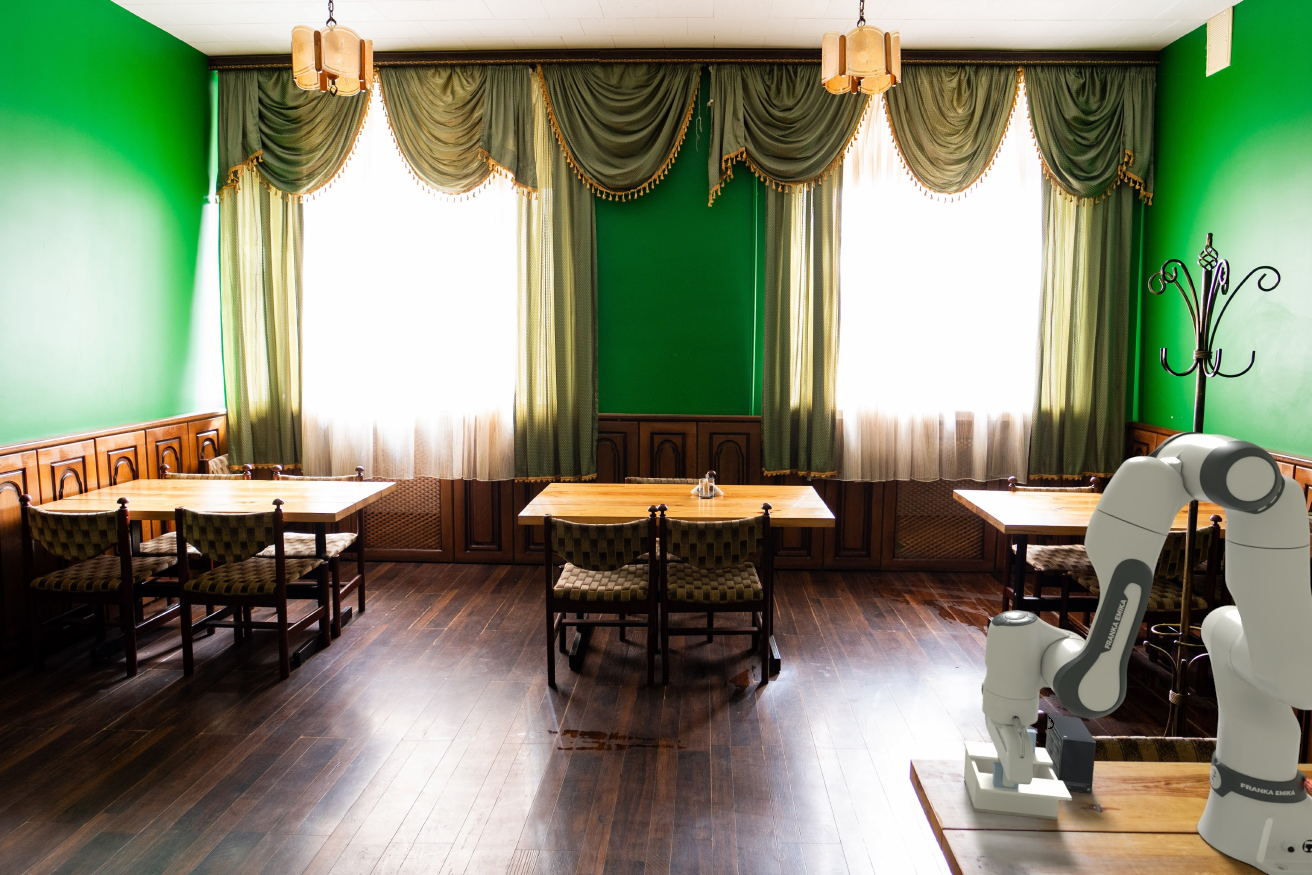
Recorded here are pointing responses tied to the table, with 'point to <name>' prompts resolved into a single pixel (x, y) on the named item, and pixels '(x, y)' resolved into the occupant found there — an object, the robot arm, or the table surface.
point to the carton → (1008, 802)
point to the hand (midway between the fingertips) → (1005, 780)
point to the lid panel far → (989, 752)
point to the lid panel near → (1022, 785)
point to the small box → (1071, 752)
